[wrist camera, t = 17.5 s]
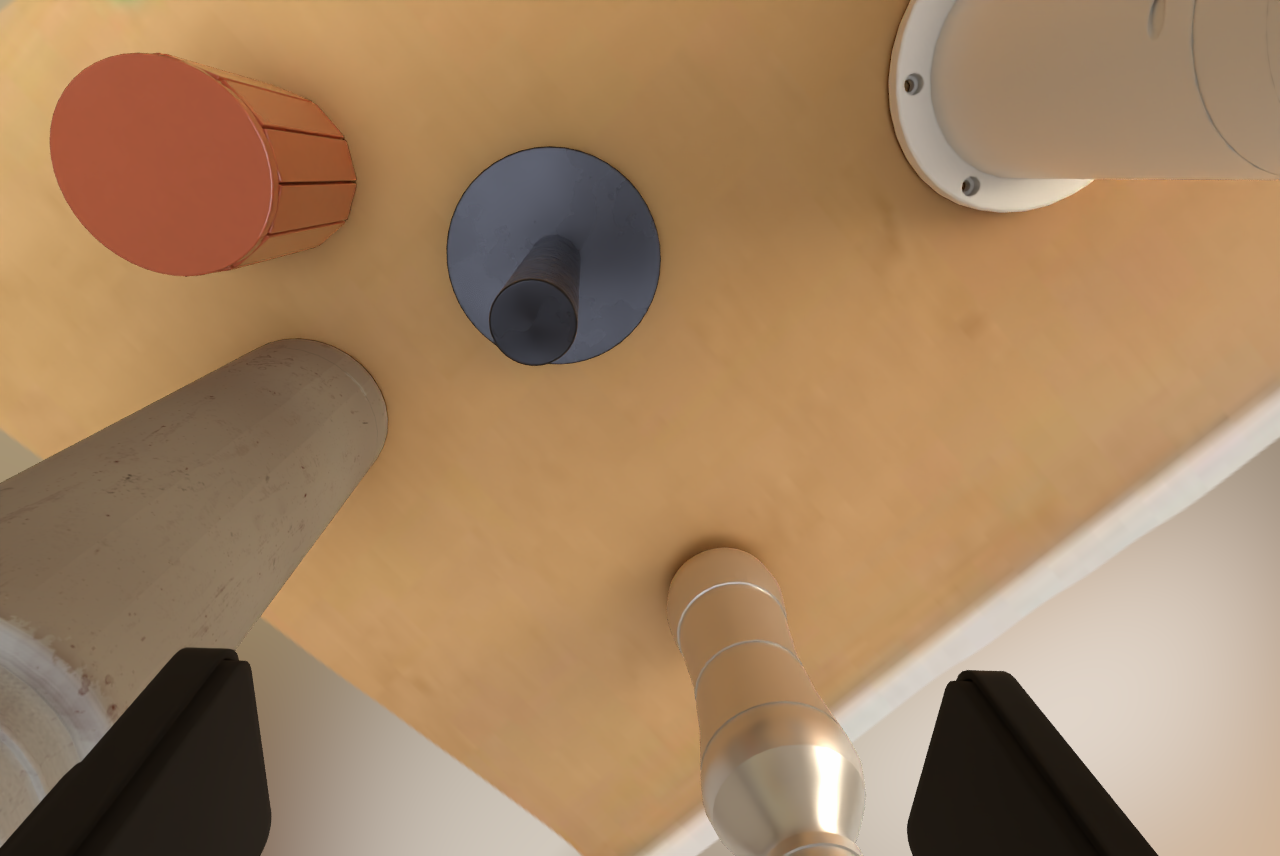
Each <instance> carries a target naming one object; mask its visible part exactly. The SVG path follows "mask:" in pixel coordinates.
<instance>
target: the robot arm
mask: <svg viewBox="0 0 1280 856" xmlns="http://www.w3.org/2000/svg"><path fill="white" fill-rule="evenodd" d="M905 80H906V81H908V82H909V83H910V89H909V90H908V92H906V91H905V87H904V84H905ZM888 84H889V102H890V112H891V117H892V121H893V125H894V129H895V133H896V137H897V139H898V141H899V143H900V146H901V148H902V150H903V152H904V154H905V157H906V159H907V160H908V162H909V163H910V164H911V166H912V167H913V168H914V170H915V171H916V173H917V174H918V175H919V177H920V178H921V179H922V180H923V181H924V182H925V183H927V184H928V185H929V186H930V187H931V188H932V189H933V190H935V191H936V192H937V193H938V194H940V195H942V196H943V197H945V198H947V199H949V200H951V201H953V202H954V203H956V204H958V205H962V206H965V207H969V208H973V209H976V210H980V211H991V212H999V213H1004V212H1025V211H1029V210H1033V209H1037V208H1041V207H1045V206H1049V205H1051V204H1053V203H1055V202H1058V201H1060V200H1062V199H1064V198H1066V197H1069V196H1071V195H1073V194H1074V193H1076V192H1077V191H1079V190H1081V189H1082V188H1084V187H1085V186H1087V185H1088V184H1090V183H1091V182H1092V181H1094V180H1095V179H1163V180H1280V0H910V3H909V5H908V7H907V9H906V11H905V13H904V16H903V18H902V20H901V22H900V25H899V28H898V32H897V36H896V39H895V43H894V46H893V50H892V54H891V63H890V72H889V81H888ZM963 182H965V184H966V186H965V189H964V190H963V191H962V184H963ZM270 826H271V808H270V801H269V794H268V786H267V779H266V772H265V765H264V757H263V750H262V744H261V736H260V728H259V721H258V714H257V707H256V700H255V692H254V685H253V678H252V671H251V667H250V664H249V663H248V662H247V661H239V659H238V655H237V653H236V652H235V651H234V650H233V649H227V648H193V647H186V648H183V649H180V650H179V651H178V652H177V653H176V654H175V655H174V656H173V657H172V658H171V659H170V660H169V661H168V662H167V664H166V665H165V666H164V667H163V668H162V669H161V670H160V672H159V673H158V674H157V675H156V676H155V677H154V679H153V680H152V681H151V682H150V683H149V684H148V685H147V687H146V688H145V689H144V690H143V691H142V692H141V693H140V695H139V696H138V697H137V698H136V699H135V700H134V701H133V703H132V704H131V705H130V706H129V707H128V708H127V710H126V711H125V712H124V713H123V714H122V715H121V716H120V718H119V719H118V720H117V721H116V722H115V723H114V724H113V726H112V727H111V728H110V729H109V730H108V731H107V733H106V734H105V735H104V736H103V737H102V738H101V739H100V741H99V742H98V743H97V744H96V745H95V746H94V747H93V749H92V750H91V751H90V752H89V753H88V754H87V755H86V757H85V758H84V759H83V760H82V761H81V762H79V763H77V764H76V765H75V766H74V767H72V768H71V769H70V770H69V771H68V772H67V773H66V774H65V775H64V776H63V777H62V778H61V779H60V780H59V781H58V783H57V784H56V785H55V786H54V787H53V788H52V789H51V791H50V792H49V793H48V794H47V795H46V796H45V797H44V799H43V800H42V801H41V802H40V803H39V804H38V805H37V806H36V808H35V809H34V810H33V811H32V812H31V813H30V814H29V816H28V817H27V818H26V819H25V820H24V821H23V822H22V824H21V825H20V826H19V827H18V828H17V829H16V830H15V832H14V833H13V834H12V835H11V836H10V837H9V838H8V839H7V841H6V842H5V843H4V844H3V845H2V846H1V847H0V856H260V855H261V853H262V851H263V849H264V847H265V844H266V842H267V839H268V835H269V831H270ZM907 834H908V842H909V846H910V849H911V852H912V854H913V856H1158V855H1157V853H1156V852H1155V851H1154V850H1153V848H1152V847H1151V846H1150V845H1149V843H1148V842H1147V841H1146V840H1145V838H1144V837H1143V836H1142V835H1141V834H1140V832H1139V831H1138V830H1137V829H1136V827H1135V826H1134V825H1133V824H1132V823H1131V821H1130V820H1129V819H1128V817H1127V816H1126V815H1125V814H1124V813H1123V811H1122V810H1121V809H1120V808H1119V807H1118V805H1117V804H1116V803H1115V802H1114V800H1113V799H1112V798H1111V796H1110V795H1109V794H1108V793H1107V792H1106V790H1105V789H1104V788H1103V787H1102V785H1101V784H1100V783H1099V782H1098V780H1097V779H1096V778H1095V777H1094V775H1093V774H1092V773H1091V772H1090V771H1089V769H1088V768H1087V767H1086V766H1085V764H1084V763H1083V762H1082V761H1081V759H1080V758H1079V757H1078V756H1077V754H1076V753H1075V752H1074V751H1073V749H1072V748H1071V747H1070V746H1069V745H1068V744H1067V742H1066V741H1065V740H1064V738H1063V737H1062V736H1061V735H1060V733H1059V732H1058V731H1057V730H1056V729H1055V727H1054V726H1053V725H1052V724H1051V722H1050V721H1049V720H1048V719H1047V717H1046V716H1045V715H1044V714H1043V713H1042V711H1041V710H1040V709H1039V707H1038V706H1037V705H1036V704H1035V703H1034V701H1033V700H1032V699H1031V698H1030V696H1029V695H1028V694H1027V693H1026V692H1025V690H1024V689H1023V688H1022V687H1021V685H1020V684H1019V683H1018V682H1017V680H1016V679H1015V678H1014V677H1013V676H1012V675H1011V674H1009V673H1007V672H1004V671H975V670H967V671H962V672H961V673H960V674H959V675H958V678H957V680H956V681H950V682H949V683H948V684H947V686H946V689H945V692H944V696H943V699H942V703H941V706H940V710H939V713H938V717H937V720H936V724H935V728H934V731H933V734H932V738H931V742H930V745H929V749H928V752H927V756H926V759H925V763H924V767H923V770H922V774H921V777H920V780H919V784H918V787H917V791H916V794H915V798H914V802H913V805H912V809H911V812H910V816H909V819H908V824H907Z"/></svg>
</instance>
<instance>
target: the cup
mask: <svg viewBox="0 0 1280 856" xmlns="http://www.w3.org/2000/svg"><path fill="white" fill-rule="evenodd" d="M343 138H344V136H343V135H342V133H341V132H340V131H339V130H338V129H337V128H336V127H335V125H334V124H333V123H332V122H331V121H330V120H329V118H328V117H327V116H326V115H325V114H324V113H323V112H322V110H321V109H320V108H319V107H318V106H317V105H316V104H314V103H312V101H311V100H308V99H306V98H303V97H301V96H299V95H296V94H294V93H291V92H289V91H287V90H284V89H282V88H279V87H277V86H275V85H272V84H268V83H265V82H261V81H258V80H254V79H251V78H248V77H244V76H241V75H237V74H234V73H230V72H227V71H223V70H220V69H217V68H213V67H210V66H206V65H203V64H199V63H196V62H193V61H189V60H186V59H182V58H179V57H175V56H172V55H169V54H161V53H153V54H148V53H128V54H120V55H116V56H111V57H108V58H105V59H103V60H100V61H98V62H96V63H94V64H92V65H91V66H89V67H87V68H86V69H84V70H83V71H82V72H80V73H79V74H78V75H77V76H76V77H75V78H74V79H73V80H72V81H71V82H70V83H69V85H68V86H67V87H66V88H65V90H64V91H63V93H62V95H61V97H60V98H59V100H58V103H57V105H56V108H55V111H54V113H53V118H52V123H51V128H50V152H51V160H52V164H53V169H54V173H55V176H56V179H57V182H58V185H59V187H60V189H61V191H62V193H63V196H64V198H65V200H66V201H67V203H68V205H69V206H70V208H71V210H72V211H73V213H74V214H75V215H76V217H77V218H78V219H79V221H80V222H81V223H82V225H83V226H84V227H85V228H86V229H87V230H88V231H89V232H90V233H91V234H92V235H93V236H94V237H95V238H96V239H97V240H98V241H99V242H101V243H102V244H103V245H104V246H105V247H107V248H108V249H109V250H111V251H112V252H114V253H115V254H117V255H118V256H120V257H122V258H123V259H125V260H127V261H129V262H131V263H133V264H135V265H137V266H140V267H142V268H145V269H147V270H151V271H154V272H158V273H162V274H167V275H173V276H185V277H187V276H198V275H205V274H209V273H215V272H221V271H228V270H233V269H237V268H241V267H244V266H248V265H252V264H256V263H259V262H263V261H267V260H271V259H274V258H278V257H282V256H285V255H289V254H293V253H297V252H300V251H304V250H308V249H312V248H315V247H316V246H320V245H321V244H322V243H323V242H324V241H325V240H327V239H328V238H329V237H330V236H331V235H332V234H333V233H334V232H336V231H337V230H338V229H339V228H340V227H341V226H342V225H343V224H345V221H344V220H347V219H348V215H349V211H350V207H351V204H352V200H353V196H354V192H355V189H356V183H354V182H352V181H356V176H355V172H354V168H353V164H352V160H351V157H350V153H349V149H348V145H347V141H346V140H342V139H343Z"/></svg>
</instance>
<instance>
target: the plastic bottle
mask: <svg viewBox="0 0 1280 856" xmlns="http://www.w3.org/2000/svg"><path fill="white" fill-rule="evenodd" d="M667 620H668V624H669V627H670V630H671V633H672V635H673V638H674V640H675V643H676V645H677V647H678V648H679V650H680V652H681V654H682V655H683V657H684V660H685V663H686V666H687V669H688V672H689V675H690V678H691V681H692V684H693V687H694V693H695V700H696V707H697V714H698V721H699V728H700V763H701V789H702V797H703V805H704V808H705V812H706V815H707V817H708V819H709V821H710V822H711V824H712V826H713V828H714V830H715V831H716V833H717V835H718V837H719V838H720V840H721V842H722V843H723V844H724V845H725V846H726V847H727V848H728V849H729V850H730V851H731V852H732V853H733V854H734V855H735V856H863V855H862V852H861V850H860V849H859V848H858V847H857V845H856V844H855V843H856V841H857V838H858V835H859V831H860V828H861V823H862V819H863V814H864V809H865V800H866V792H865V784H864V775H863V769H862V764H861V761H860V758H859V756H858V754H857V752H856V750H855V748H854V747H853V745H852V743H851V741H850V740H849V738H848V736H847V734H846V733H845V732H844V731H843V729H842V727H841V726H840V724H839V723H838V722H837V720H836V719H835V717H834V716H833V714H832V713H831V711H830V710H829V709H828V707H827V706H826V704H825V703H824V701H823V700H822V698H821V697H820V696H819V694H818V693H817V691H816V690H815V688H814V686H813V684H812V682H811V680H810V678H809V676H808V675H807V673H806V671H805V669H804V668H803V665H802V663H801V661H800V659H799V658H798V656H797V653H796V650H795V646H794V643H793V640H792V637H791V634H790V631H789V627H788V624H787V614H786V609H785V605H784V600H783V596H782V592H781V589H780V587H779V585H778V582H777V580H776V579H775V578H774V577H773V575H772V574H771V573H770V571H769V570H768V569H767V568H766V567H765V566H764V565H763V563H762V562H761V561H759V560H758V559H757V558H756V557H755V556H753V555H751V554H749V553H747V552H745V551H742V550H739V549H735V548H714V549H710V550H706V551H703V552H701V553H699V554H697V555H695V556H693V557H692V558H690V559H689V560H688V561H686V562H685V563H684V564H683V565H682V566H681V567H680V568H679V570H678V571H677V573H676V574H675V576H674V577H673V579H672V582H671V585H670V587H669V594H668V602H667Z"/></svg>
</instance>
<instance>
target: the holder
mask: <svg viewBox="0 0 1280 856" xmlns="http://www.w3.org/2000/svg"><path fill="white" fill-rule="evenodd" d="M660 263H661V255H660V243H659V238H658V233H657V229H656V226H655V223H654V220H653V217H652V215H651V213H650V211H649V208H648V206H647V204H646V203H645V201H644V200H643V198H642V196H641V195H640V193H639V192H638V191H637V190H636V188H635V187H634V186H633V185H632V184H631V182H630V181H629V180H628V179H627V178H626V177H624V176H623V175H622V174H621V173H620V172H619V171H618V170H616V169H615V168H614V167H612V166H611V165H609V164H608V163H606V162H605V161H603V160H601V159H599V158H597V157H595V156H593V155H590V154H587V153H585V152H582V151H579V150H574V149H569V148H565V147H536V148H531V149H526V150H522V151H519V152H516V153H513V154H511V155H508V156H506V157H504V158H502V159H500V160H498V161H497V162H495V163H493V164H492V165H491V166H489V167H488V168H487V169H485V170H484V171H483V172H482V173H481V174H480V175H479V176H478V177H477V178H476V179H475V180H474V181H473V182H472V183H471V184H470V185H469V187H468V188H467V189H466V191H465V192H464V193H463V195H462V197H461V199H460V201H459V202H458V204H457V206H456V209H455V211H454V214H453V216H452V219H451V223H450V227H449V231H448V238H447V266H448V272H449V278H450V281H451V284H452V288H453V291H454V293H455V295H456V298H457V300H458V302H459V304H460V306H461V308H462V309H463V311H464V313H465V314H466V316H467V317H468V318H469V320H470V321H471V322H472V324H473V325H474V326H475V327H476V328H477V329H478V330H479V331H480V332H481V333H482V334H483V335H484V336H485V337H486V338H487V339H489V340H490V341H491V342H492V343H494V344H495V345H496V346H497V347H498V348H499V349H500V350H501V351H502V352H503V353H504V354H505V355H506V356H507V357H509V358H510V359H512V360H514V361H516V362H518V363H521V364H524V365H530V366H539V365H545V364H568V363H576V362H580V361H585V360H588V359H591V358H594V357H596V356H599V355H601V354H603V353H605V352H607V351H609V350H610V349H612V348H613V347H615V346H616V345H618V344H619V343H621V342H622V341H623V340H624V339H625V338H626V337H627V336H629V335H630V334H631V333H632V331H633V330H634V329H635V328H636V327H637V326H638V325H639V323H640V322H641V320H642V319H643V317H644V316H645V314H646V313H647V311H648V309H649V307H650V305H651V303H652V301H653V298H654V295H655V292H656V289H657V285H658V280H659V275H660Z"/></svg>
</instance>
